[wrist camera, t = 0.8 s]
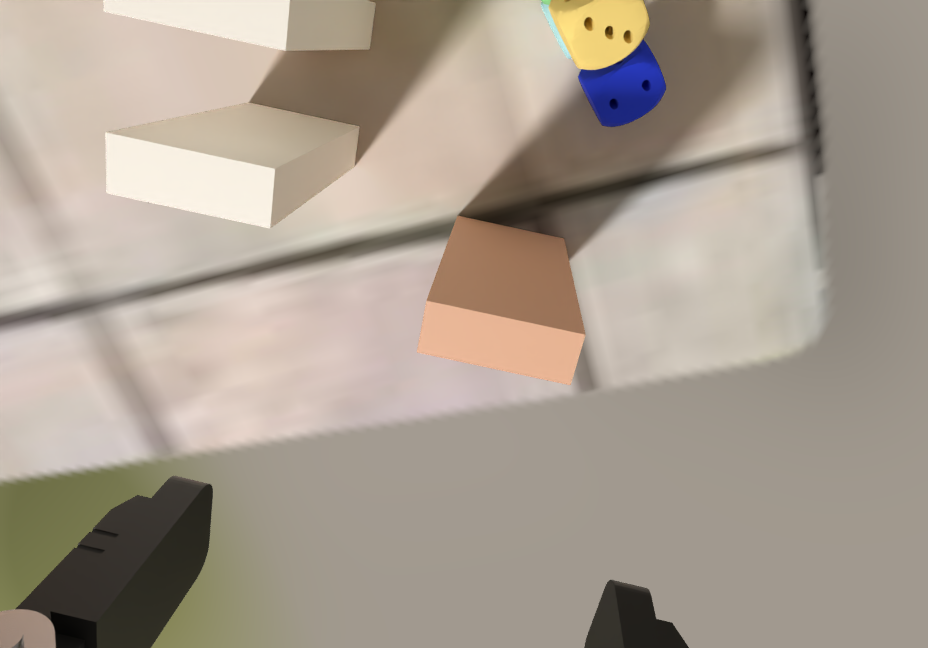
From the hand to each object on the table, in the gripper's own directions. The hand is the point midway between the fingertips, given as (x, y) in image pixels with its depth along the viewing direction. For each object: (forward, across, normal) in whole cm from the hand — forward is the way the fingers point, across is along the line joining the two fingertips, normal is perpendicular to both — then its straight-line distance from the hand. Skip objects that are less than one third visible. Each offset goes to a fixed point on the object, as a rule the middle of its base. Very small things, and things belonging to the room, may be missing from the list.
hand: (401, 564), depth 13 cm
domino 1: (+19, +9, -10) cm, 23 cm away
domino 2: (+19, +9, -5) cm, 22 cm away
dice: (+20, -2, -12) cm, 23 cm away
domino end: (+20, -1, -2) cm, 20 cm away
